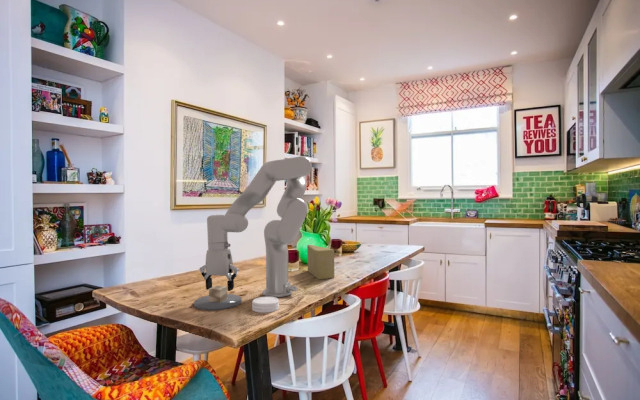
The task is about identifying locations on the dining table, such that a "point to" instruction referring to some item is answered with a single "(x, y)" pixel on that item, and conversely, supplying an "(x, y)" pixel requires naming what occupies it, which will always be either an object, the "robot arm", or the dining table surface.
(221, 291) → the wooden cube
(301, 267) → the dining table surface
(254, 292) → the dining table surface
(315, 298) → the dining table surface
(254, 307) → the coaster
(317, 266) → the cheese
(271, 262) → the robot arm
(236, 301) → the cake plate
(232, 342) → the dining table surface
